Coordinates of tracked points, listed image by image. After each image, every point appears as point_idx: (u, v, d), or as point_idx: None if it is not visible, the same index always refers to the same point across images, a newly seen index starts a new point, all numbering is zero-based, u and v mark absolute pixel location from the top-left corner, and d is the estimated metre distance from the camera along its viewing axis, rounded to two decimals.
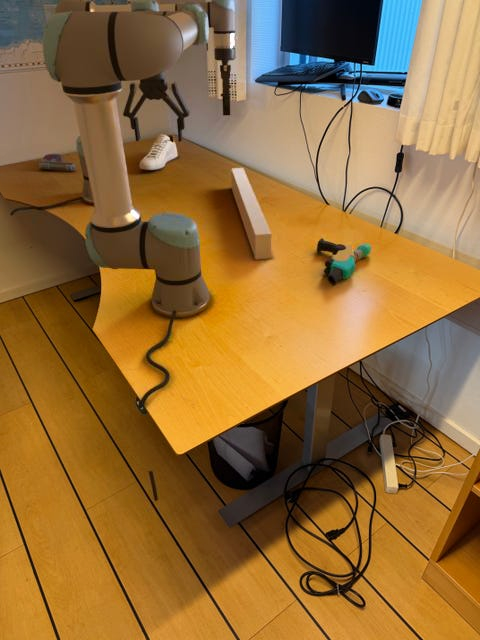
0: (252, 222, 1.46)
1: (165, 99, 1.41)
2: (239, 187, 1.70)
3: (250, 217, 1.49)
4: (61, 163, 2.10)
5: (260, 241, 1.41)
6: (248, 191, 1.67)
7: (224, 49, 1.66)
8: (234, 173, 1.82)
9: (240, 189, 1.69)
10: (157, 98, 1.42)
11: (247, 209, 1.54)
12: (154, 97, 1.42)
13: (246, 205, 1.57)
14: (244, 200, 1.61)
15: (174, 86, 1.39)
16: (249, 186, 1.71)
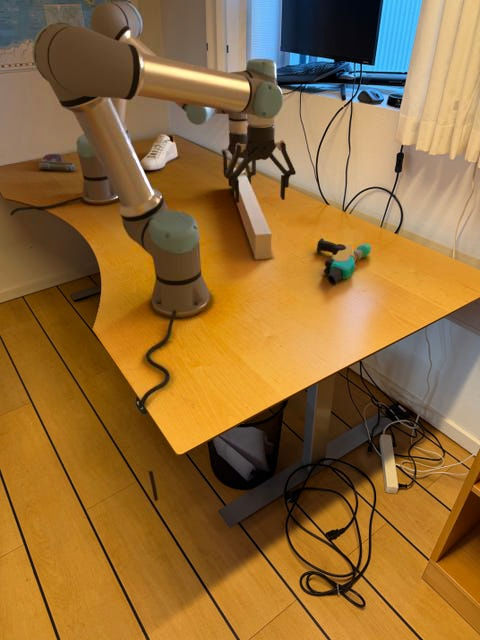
0: (252, 222, 1.46)
1: (273, 159, 1.33)
2: (239, 187, 1.70)
3: (250, 217, 1.49)
4: (61, 163, 2.10)
5: (260, 241, 1.41)
6: (248, 191, 1.67)
7: None
8: None
9: (240, 189, 1.69)
10: (264, 158, 1.33)
11: (247, 209, 1.54)
12: (261, 157, 1.32)
13: (246, 205, 1.57)
14: (244, 200, 1.61)
15: (284, 145, 1.31)
16: (249, 186, 1.71)
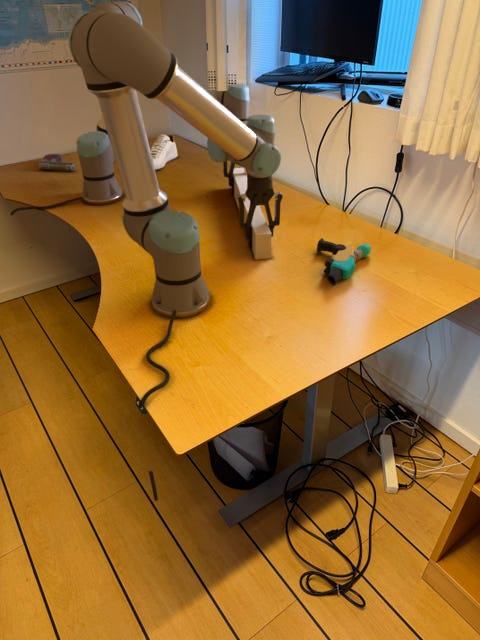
0: (252, 222, 1.46)
1: (267, 207, 1.41)
2: (239, 187, 1.70)
3: None
4: (61, 163, 2.10)
5: (260, 241, 1.41)
6: None
7: None
8: (234, 173, 1.82)
9: (240, 189, 1.69)
10: (263, 204, 1.41)
11: (247, 209, 1.54)
12: (260, 203, 1.40)
13: (246, 205, 1.57)
14: None
15: (281, 197, 1.40)
16: None
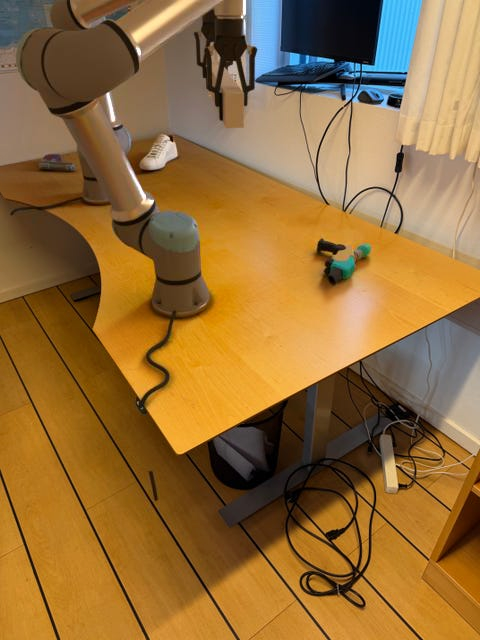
0: (223, 87, 1.25)
1: (239, 63, 1.20)
2: (212, 69, 1.49)
3: (221, 84, 1.28)
4: (61, 163, 2.10)
5: (231, 103, 1.19)
6: (223, 72, 1.46)
7: None
8: None
9: (213, 70, 1.48)
10: (235, 59, 1.19)
11: None
12: (231, 58, 1.19)
13: None
14: (216, 76, 1.39)
15: (255, 51, 1.19)
16: (224, 69, 1.50)
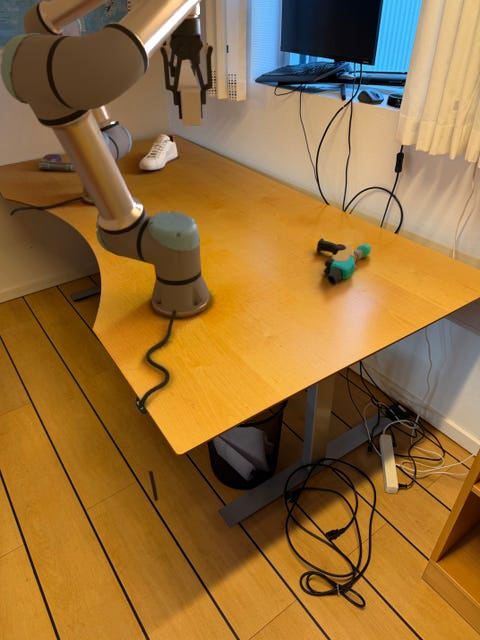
0: (181, 86, 1.26)
1: (196, 62, 1.21)
2: None
3: (180, 83, 1.29)
4: (61, 163, 2.10)
5: (187, 102, 1.21)
6: (187, 71, 1.47)
7: None
8: (176, 62, 1.63)
9: None
10: (191, 58, 1.21)
11: (180, 79, 1.35)
12: (187, 57, 1.20)
13: (180, 77, 1.37)
14: None
15: (211, 50, 1.20)
16: (189, 68, 1.51)
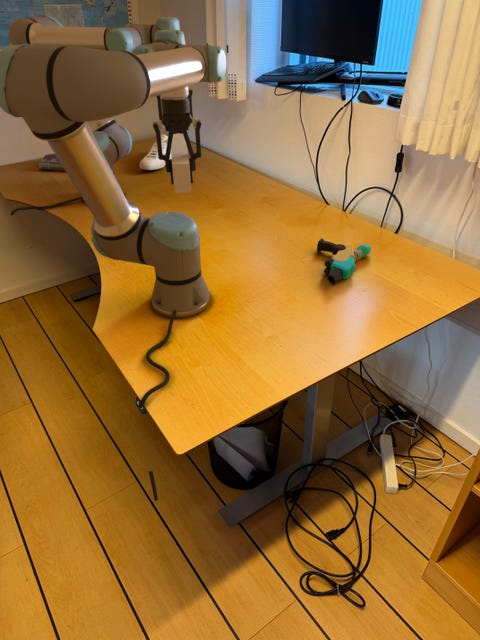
0: (173, 154, 1.38)
1: (186, 136, 1.32)
2: None
3: (172, 151, 1.41)
4: None
5: (178, 172, 1.32)
6: None
7: None
8: None
9: None
10: (181, 132, 1.32)
11: (172, 144, 1.46)
12: (178, 131, 1.32)
13: (172, 141, 1.48)
14: None
15: (200, 125, 1.31)
16: None
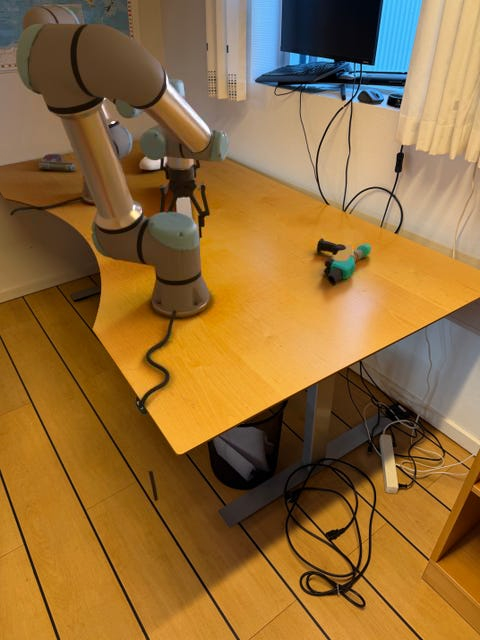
0: None
1: (192, 198, 1.43)
2: None
3: None
4: (61, 163, 2.10)
5: None
6: None
7: None
8: None
9: None
10: (186, 196, 1.43)
11: (177, 206, 1.57)
12: (183, 195, 1.43)
13: (177, 202, 1.60)
14: None
15: (204, 187, 1.42)
16: None
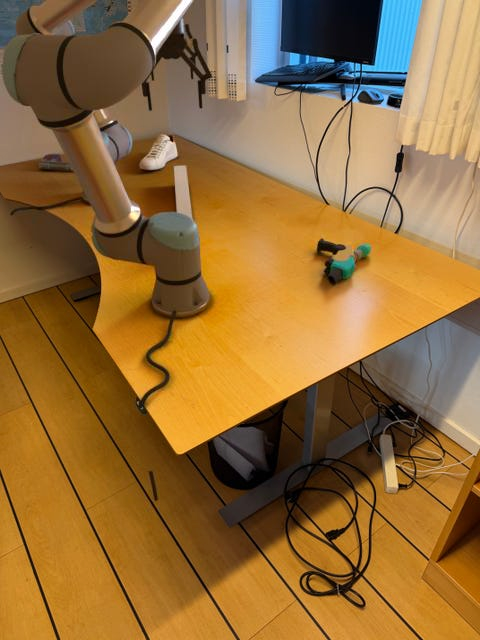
0: None
1: (185, 58, 1.21)
2: (176, 184, 1.73)
3: None
4: (61, 163, 2.10)
5: None
6: (184, 188, 1.70)
7: None
8: (175, 171, 1.85)
9: (176, 186, 1.72)
10: (175, 57, 1.21)
11: (177, 206, 1.57)
12: (172, 56, 1.21)
13: (177, 202, 1.60)
14: (177, 197, 1.63)
15: (196, 41, 1.20)
16: (186, 183, 1.74)
